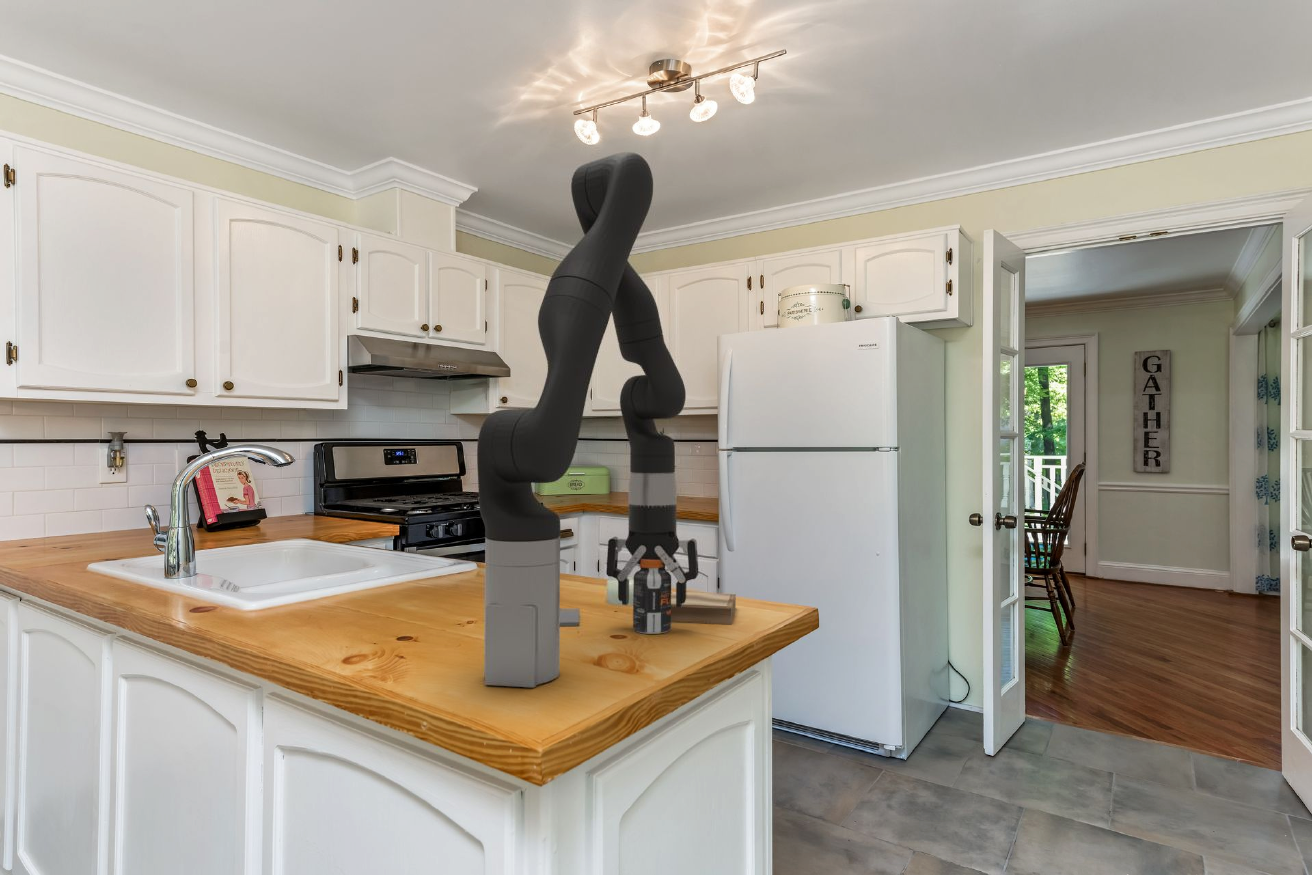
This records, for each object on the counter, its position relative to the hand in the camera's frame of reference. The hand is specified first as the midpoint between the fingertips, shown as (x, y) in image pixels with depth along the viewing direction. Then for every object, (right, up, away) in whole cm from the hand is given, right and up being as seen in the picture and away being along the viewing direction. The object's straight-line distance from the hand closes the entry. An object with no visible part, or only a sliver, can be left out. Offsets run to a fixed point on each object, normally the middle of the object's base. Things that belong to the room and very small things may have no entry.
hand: (652, 604), depth 117 cm
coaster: (-17, -4, +7) cm, 19 cm away
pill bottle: (0, -4, 0) cm, 4 cm away
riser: (+8, -4, +11) cm, 14 cm away
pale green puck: (-5, -4, +22) cm, 23 cm away
